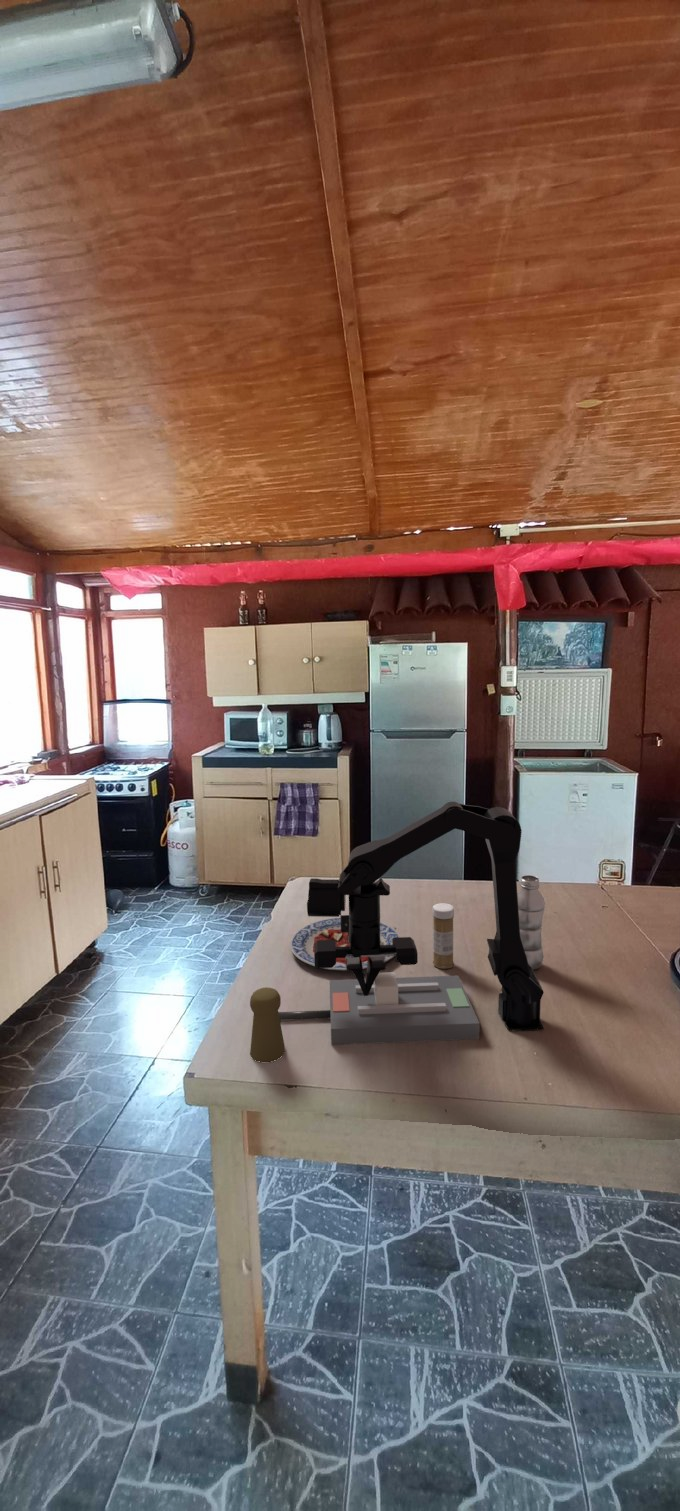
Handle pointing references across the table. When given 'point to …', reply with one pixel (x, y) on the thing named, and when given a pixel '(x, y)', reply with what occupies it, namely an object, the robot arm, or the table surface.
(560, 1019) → the table surface
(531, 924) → the plastic bottle
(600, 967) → the table surface
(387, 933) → the ceramic plate
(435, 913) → the sprinkles bottle
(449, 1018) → the slider switch base
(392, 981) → the switch knob
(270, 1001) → the olive peg pawn
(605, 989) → the table surface
